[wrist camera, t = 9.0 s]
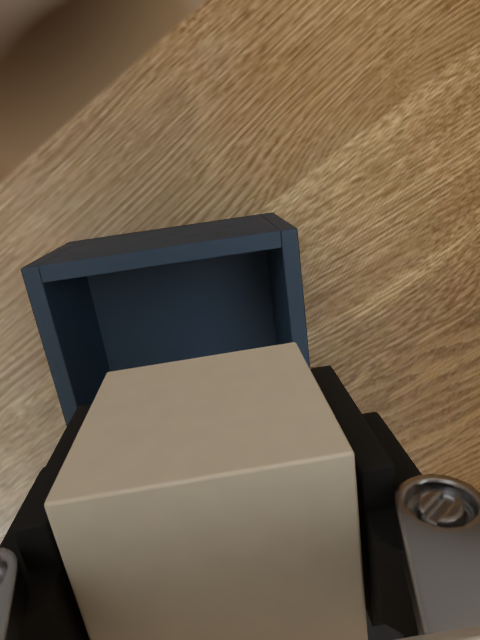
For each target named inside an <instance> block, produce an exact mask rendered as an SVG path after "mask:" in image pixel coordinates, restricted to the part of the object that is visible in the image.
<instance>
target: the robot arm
mask: <svg viewBox="0 0 480 640" xmlns="http://www.w3.org/2000/svg"><path fill="white" fill-rule="evenodd" d="M310 370H311V372H312V374H313V376H314V378H315V380H316V382H317V384H318V386H319V387H320V389H321V391H322V393H323V395H324V397H325V399H326V401H327V403H328V404H329V406H330V408H331V410H332V412H333V414H334V416H335V418H336V420H337V421H338V423H339V425H340V427H341V429H342V431H343V433H344V435H345V437H346V438H347V440H348V442H349V444H350V446H351V448H352V450H353V452H354V455H355V469H356V483H357V496H358V510H359V524H360V538H361V551H362V565H363V579H364V593H365V606H366V611H367V613H368V616H369V619H370V621H371V624H372V626H378V625H384V624H386V625H387V626H389V627H391V628H393V629H394V630H396V631H398V632H400V633H401V639H395V640H480V492H479V491H477V490H476V489H475V488H474V487H472V486H471V485H470V484H468V483H465V482H463V481H461V480H459V479H457V478H453V477H449V476H445V475H436V474H426V475H422V474H421V473H420V471H419V470H418V469H417V467H416V466H415V464H414V463H413V462H412V460H411V459H410V457H409V456H408V454H407V453H406V452H405V450H404V449H403V447H402V446H401V445H400V443H399V442H398V440H397V439H396V438H395V436H394V435H393V433H392V432H391V431H390V429H389V428H388V426H387V425H386V424H385V422H384V421H383V419H382V418H381V417H380V415H379V414H378V413H377V412H371V413H365V414H361V412H360V410H359V409H358V407H357V406H356V404H355V403H354V401H353V400H352V398H351V396H350V395H349V393H348V392H347V390H346V389H345V387H344V386H343V384H342V382H341V381H340V379H339V378H338V376H337V375H336V373H335V372H334V370H333V368H332V367H331V366H323V367H317V368H311V369H310ZM91 405H92V404H89V405H83V406H78V408H77V409H76V411H75V413H74V415H73V417H72V418H71V420H70V422H69V424H68V426H67V428H66V430H65V431H64V433H63V435H62V437H61V439H60V441H59V443H58V445H57V446H56V448H55V450H54V452H53V454H52V456H51V458H50V460H49V461H48V463H47V465H46V467H44V468H43V469H42V470H41V471H40V473H39V475H38V477H37V478H36V480H35V482H34V484H33V486H32V488H31V489H30V491H29V493H28V495H27V497H26V499H25V500H24V502H23V504H22V506H21V508H20V510H19V511H18V513H17V515H16V517H15V519H14V521H13V522H12V524H11V526H10V528H9V530H8V532H7V534H6V535H5V537H4V539H3V541H2V543H1V545H0V640H90V639H89V636H88V633H87V630H86V627H85V624H84V621H83V618H82V615H81V612H80V609H79V607H78V604H77V601H76V598H75V595H74V592H73V589H72V586H71V583H70V580H69V577H68V575H67V572H66V569H65V566H64V563H63V560H62V557H61V554H60V551H59V548H58V545H57V542H56V540H55V537H54V534H53V531H52V528H51V525H50V522H49V519H48V516H47V513H46V510H45V508H44V503H45V501H46V499H47V497H48V494H49V492H50V490H51V488H52V486H53V484H54V482H55V480H56V478H57V476H58V474H59V472H60V469H61V467H62V465H63V463H64V461H65V459H66V457H67V455H68V453H69V451H70V449H71V447H72V444H73V442H74V440H75V438H76V436H77V434H78V432H79V430H80V428H81V426H82V424H83V422H84V420H85V417H86V415H87V413H88V411H89V409H90V407H91Z"/></svg>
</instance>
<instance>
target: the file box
mask: <svg viewBox="0 0 480 640" xmlns="http://www.w3.org/2000/svg"><path fill="white" fill-rule="evenodd" d="M21 272H22V276H23V279H24V283H25V286H26V289H27V293H28V296H29V300H30V303H31V306H32V310H33V313H34V316H35V320H36V323H37V327H38V330H39V333H40V337H41V340H42V344H43V347H44V350H45V354H46V357H47V361H48V364H49V367H50V371H51V374H52V378H53V381H54V384H55V388H56V391H57V395H58V398H59V401H60V405H61V408H62V411H63V415H64V418H65V422H66V425H67V426H68V424H69V422H70V420H71V418H72V417H73V415H74V413H75V411H76V409H77V408H78V406H83V405H89V404H92V403H93V401H94V399H95V397H96V395H97V392H98V390H99V388H100V386H101V384H102V382H103V380H104V378H105V376H106V374H107V373H108V372H112V371H118V370H124V369H130V368H137V367H143V366H149V365H155V364H161V363H168V362H174V361H180V360H186V359H193V358H199V357H205V356H211V355H217V354H224V353H230V352H236V351H242V350H248V349H255V348H261V347H267V346H273V345H280V344H286V343H292V342H295V343H296V344H297V346H298V348H299V350H300V351H301V353H302V355H303V357H304V359H305V361H306V363H307V365H308V367H309V369H310V360H309V350H308V339H307V328H306V317H305V306H304V296H303V285H302V274H301V263H300V252H299V242H298V231H297V228H295V227H294V226H292V225H291V224H289V223H288V222H286V221H285V220H283V219H282V218H280V217H279V216H277V215H275V214H274V213H266V214H259V215H252V216H245V217H238V218H231V219H225V220H218V221H211V222H204V223H197V224H190V225H183V226H176V227H169V228H162V229H156V230H149V231H142V232H135V233H128V234H121V235H114V236H107V237H100V238H94V239H87V240H80V241H73V242H69V243H67V244H65V245H63V246H61V247H59V248H58V249H56V250H54V251H52V252H50V253H48V254H47V255H45V256H43V257H41V258H39V259H37V260H36V261H34V262H32V263H30V264H28V265H26V266H25V267H23V268H21Z"/></svg>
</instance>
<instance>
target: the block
mask: <svg viewBox="0 0 480 640" xmlns="http://www.w3.org/2000/svg"><path fill="white" fill-rule="evenodd" d="M44 508H45V510H46V513H47V516H48V519H49V522H50V525H51V528H52V531H53V534H54V537H55V540H56V542H57V545H58V548H59V551H60V554H61V557H62V560H63V563H64V566H65V569H66V572H67V575H68V577H69V580H70V583H71V586H72V589H73V592H74V595H75V598H76V601H77V604H78V607H79V609H80V612H81V615H82V618H83V621H84V624H85V627H86V630H87V633H88V636H89V639H90V640H368V634H367V620H366V606H365V593H364V579H363V565H362V551H361V538H360V524H359V510H358V496H357V483H356V469H355V455H354V452H353V450H352V448H351V446H350V444H349V442H348V440H347V438H346V437H345V435H344V433H343V431H342V429H341V427H340V425H339V423H338V421H337V420H336V418H335V416H334V414H333V412H332V410H331V408H330V406H329V404H328V403H327V401H326V399H325V397H324V395H323V393H322V391H321V389H320V387H319V386H318V384H317V382H316V380H315V378H314V376H313V374H312V372H311V370H310V369H309V367H308V365H307V363H306V361H305V359H304V357H303V355H302V353H301V351H300V350H299V348H298V346H297V344H296V343H295V342H292V343H286V344H280V345H273V346H267V347H261V348H255V349H248V350H242V351H236V352H230V353H224V354H217V355H211V356H205V357H199V358H193V359H186V360H180V361H174V362H168V363H161V364H155V365H149V366H143V367H137V368H130V369H124V370H118V371H112V372H108V373H107V374H106V376H105V378H104V380H103V382H102V384H101V386H100V388H99V390H98V392H97V395H96V397H95V399H94V401H93V403H92V405H91V407H90V409H89V411H88V413H87V415H86V417H85V420H84V422H83V424H82V426H81V428H80V430H79V432H78V434H77V436H76V438H75V440H74V442H73V444H72V447H71V449H70V451H69V453H68V455H67V457H66V459H65V461H64V463H63V465H62V467H61V469H60V472H59V474H58V476H57V478H56V480H55V482H54V484H53V486H52V488H51V490H50V492H49V494H48V497H47V499H46V501H45V503H44Z"/></svg>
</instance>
